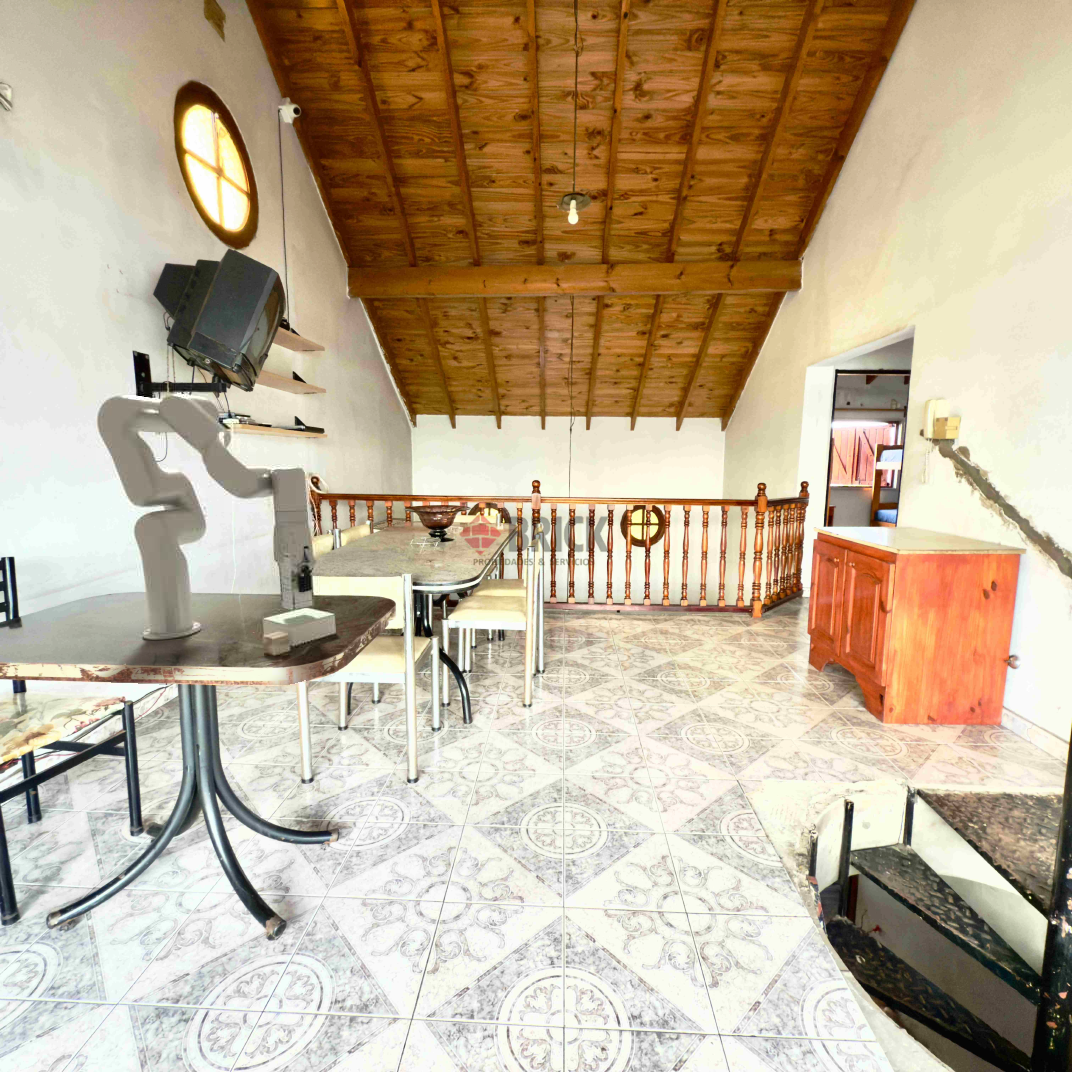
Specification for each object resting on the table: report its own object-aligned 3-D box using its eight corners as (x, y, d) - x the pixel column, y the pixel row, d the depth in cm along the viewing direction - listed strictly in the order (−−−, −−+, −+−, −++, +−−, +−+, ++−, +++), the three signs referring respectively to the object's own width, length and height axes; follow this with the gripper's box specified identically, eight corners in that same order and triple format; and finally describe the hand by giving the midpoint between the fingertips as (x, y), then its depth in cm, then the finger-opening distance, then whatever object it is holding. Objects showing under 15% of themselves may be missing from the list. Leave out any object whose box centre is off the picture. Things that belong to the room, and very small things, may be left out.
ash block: (264, 652, 130) (262, 635, 129) (280, 647, 133) (278, 631, 132) (274, 655, 128) (272, 638, 127) (290, 650, 131) (289, 634, 130)
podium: (264, 638, 140) (262, 618, 139) (307, 625, 150) (305, 607, 149) (292, 646, 134) (291, 625, 133) (335, 633, 143) (334, 613, 143)
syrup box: (303, 603, 145) (299, 547, 143) (315, 606, 141) (311, 549, 139) (281, 607, 140) (276, 550, 138) (293, 611, 137) (288, 552, 135)
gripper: (257, 517, 139) (263, 588, 142) (299, 521, 130) (304, 597, 132) (285, 515, 146) (290, 583, 148) (327, 517, 136) (331, 590, 139)
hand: (297, 589), depth 140 cm, fingers closed on syrup box, 6 cm apart
